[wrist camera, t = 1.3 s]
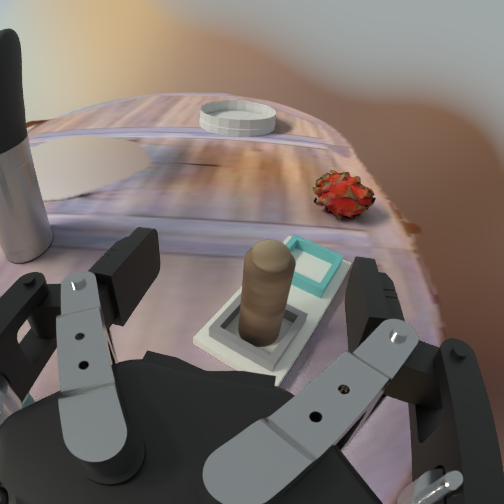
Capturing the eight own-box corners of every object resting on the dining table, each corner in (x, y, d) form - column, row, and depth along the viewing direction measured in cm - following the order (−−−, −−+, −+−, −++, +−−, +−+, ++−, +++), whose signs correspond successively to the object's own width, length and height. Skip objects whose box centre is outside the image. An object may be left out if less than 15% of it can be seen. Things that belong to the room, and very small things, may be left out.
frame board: (274, 391, 30) (278, 379, 28) (193, 344, 33) (192, 329, 32) (349, 269, 45) (354, 254, 43) (287, 242, 48) (290, 227, 47)
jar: (231, 320, 35) (237, 241, 28) (268, 309, 37) (282, 231, 29) (248, 352, 32) (259, 275, 25) (286, 339, 34) (307, 262, 27)
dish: (224, 111, 101) (224, 97, 98) (286, 124, 95) (288, 109, 91) (184, 128, 85) (184, 111, 82) (255, 143, 79) (256, 125, 76)
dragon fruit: (301, 213, 58) (360, 227, 59) (316, 211, 49) (381, 228, 51) (309, 168, 57) (367, 184, 59) (325, 159, 49) (389, 179, 51)
